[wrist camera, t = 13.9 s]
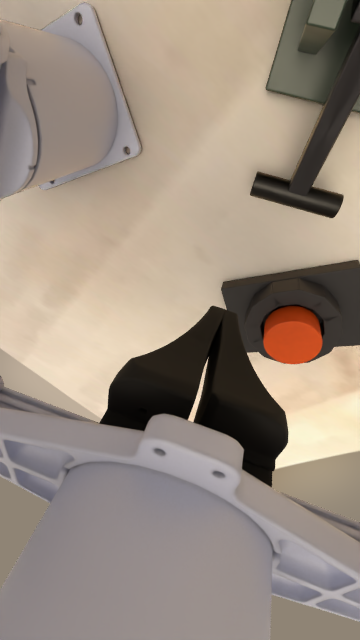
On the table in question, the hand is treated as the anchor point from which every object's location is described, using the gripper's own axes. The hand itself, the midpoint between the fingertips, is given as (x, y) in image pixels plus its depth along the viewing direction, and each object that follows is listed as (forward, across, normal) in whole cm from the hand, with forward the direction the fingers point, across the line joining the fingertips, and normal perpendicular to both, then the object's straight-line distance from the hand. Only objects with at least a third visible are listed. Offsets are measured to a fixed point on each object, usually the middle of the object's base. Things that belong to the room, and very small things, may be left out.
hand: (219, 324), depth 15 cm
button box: (+10, -6, +4) cm, 13 cm away
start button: (+8, -6, +4) cm, 10 cm away
